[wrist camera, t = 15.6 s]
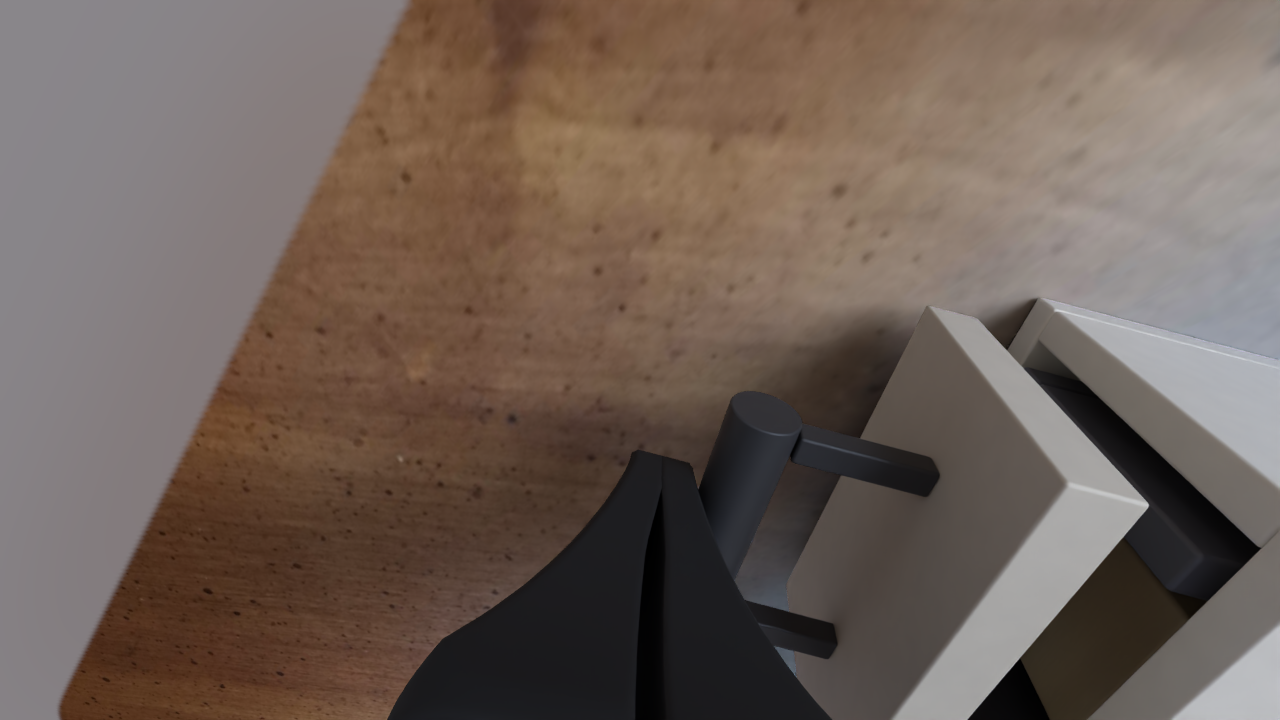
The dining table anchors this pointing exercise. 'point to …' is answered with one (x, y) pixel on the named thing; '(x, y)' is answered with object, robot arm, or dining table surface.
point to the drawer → (955, 526)
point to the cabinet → (1217, 467)
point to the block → (1104, 635)
